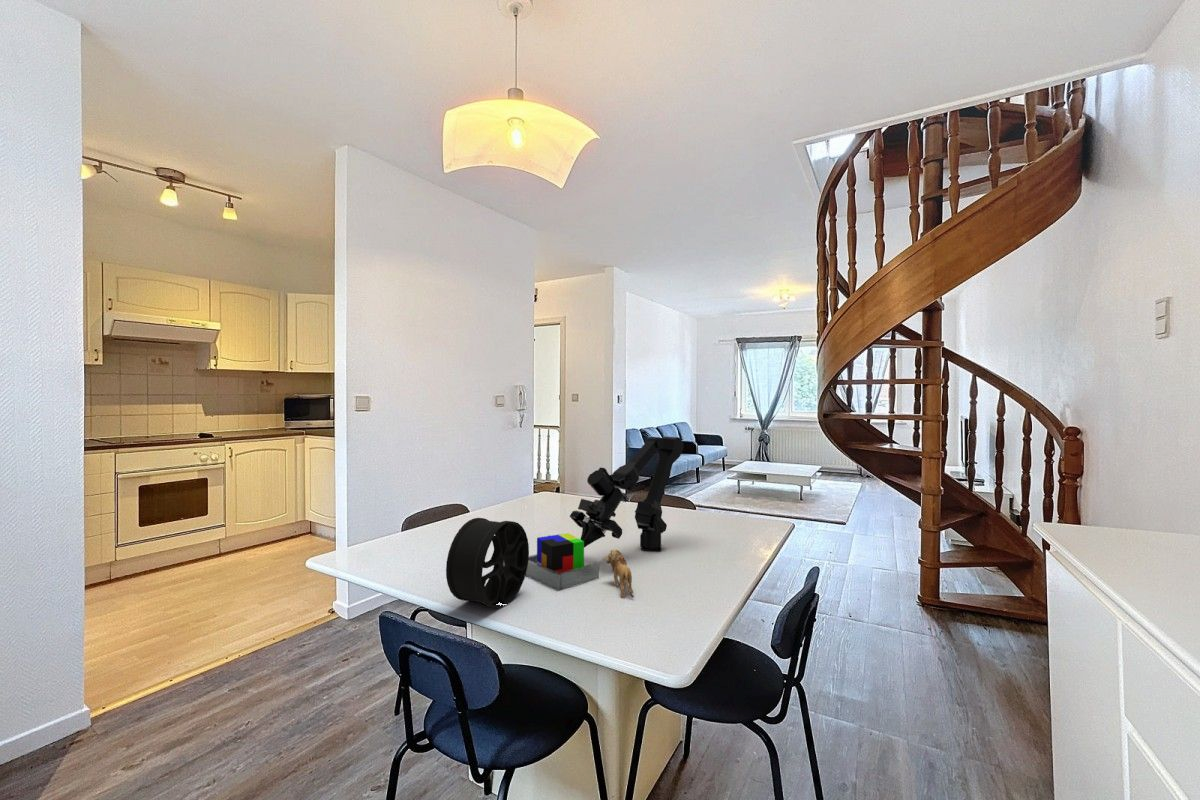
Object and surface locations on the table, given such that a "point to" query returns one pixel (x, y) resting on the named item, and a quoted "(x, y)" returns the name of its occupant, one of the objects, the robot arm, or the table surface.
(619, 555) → the lion figurine
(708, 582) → the table surface
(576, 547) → the puzzle toy
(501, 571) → the car wheel rim
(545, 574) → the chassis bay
